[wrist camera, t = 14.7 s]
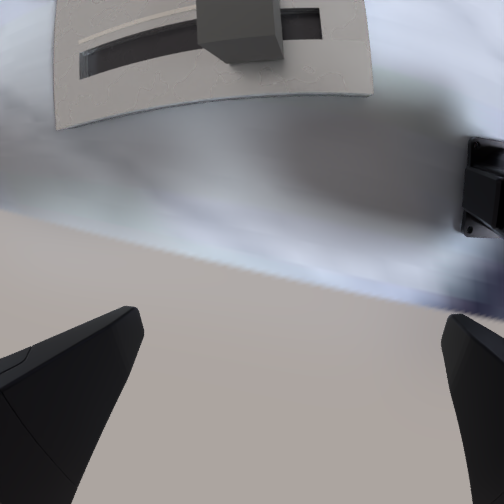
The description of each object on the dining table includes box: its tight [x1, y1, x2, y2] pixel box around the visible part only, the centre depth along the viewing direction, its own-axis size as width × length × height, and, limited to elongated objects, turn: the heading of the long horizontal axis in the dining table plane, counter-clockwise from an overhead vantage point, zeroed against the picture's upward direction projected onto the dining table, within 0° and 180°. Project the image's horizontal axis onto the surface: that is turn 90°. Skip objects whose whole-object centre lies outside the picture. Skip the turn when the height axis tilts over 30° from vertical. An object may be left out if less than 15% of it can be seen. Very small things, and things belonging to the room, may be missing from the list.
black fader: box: [196, 0, 284, 64], centre depth 12 cm, size 3×4×6 cm
